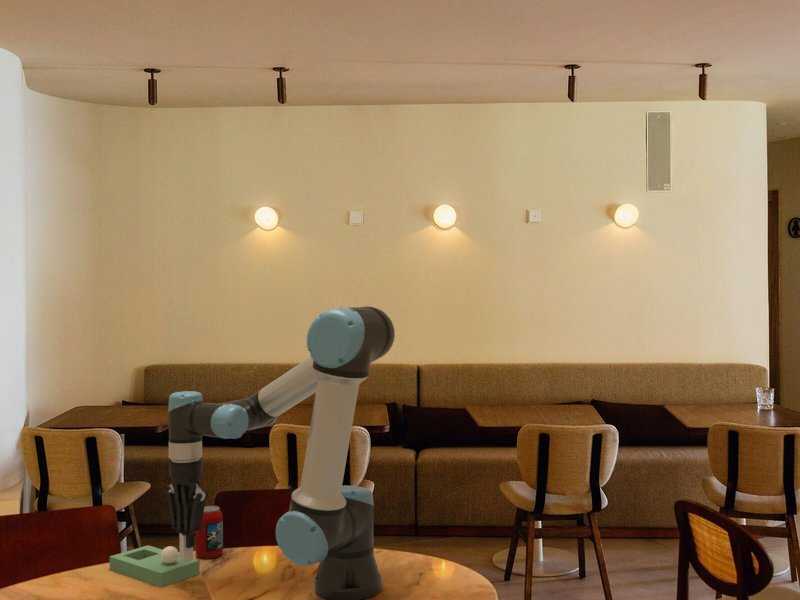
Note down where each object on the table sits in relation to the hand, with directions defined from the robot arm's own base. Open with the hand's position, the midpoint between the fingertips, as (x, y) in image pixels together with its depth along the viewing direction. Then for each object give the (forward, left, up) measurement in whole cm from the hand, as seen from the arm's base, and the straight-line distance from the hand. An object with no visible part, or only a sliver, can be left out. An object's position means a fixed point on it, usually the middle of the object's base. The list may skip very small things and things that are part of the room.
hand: (186, 560), depth 196 cm
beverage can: (+11, -16, -5) cm, 20 cm away
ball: (+6, 0, 0) cm, 6 cm away
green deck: (+12, 0, -5) cm, 13 cm away
